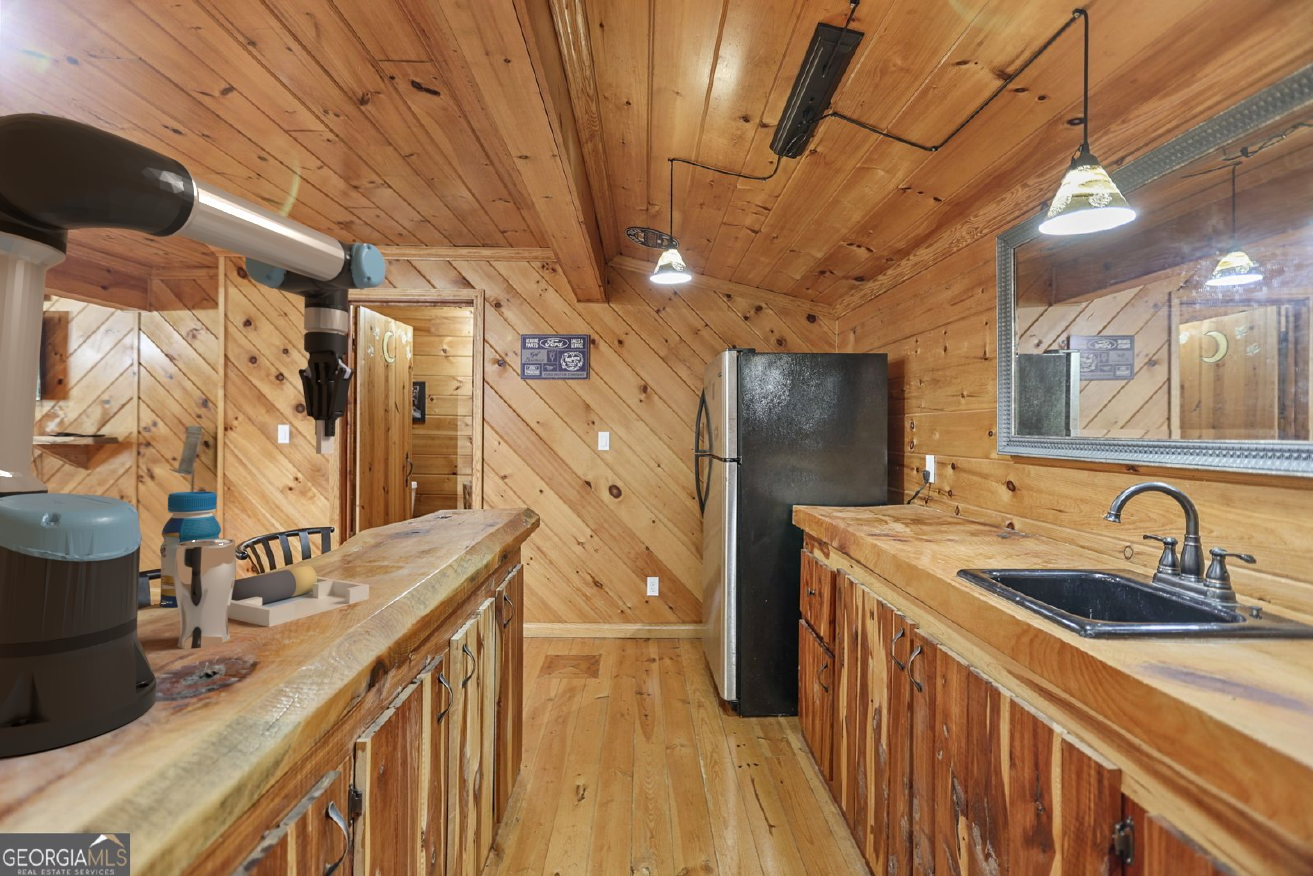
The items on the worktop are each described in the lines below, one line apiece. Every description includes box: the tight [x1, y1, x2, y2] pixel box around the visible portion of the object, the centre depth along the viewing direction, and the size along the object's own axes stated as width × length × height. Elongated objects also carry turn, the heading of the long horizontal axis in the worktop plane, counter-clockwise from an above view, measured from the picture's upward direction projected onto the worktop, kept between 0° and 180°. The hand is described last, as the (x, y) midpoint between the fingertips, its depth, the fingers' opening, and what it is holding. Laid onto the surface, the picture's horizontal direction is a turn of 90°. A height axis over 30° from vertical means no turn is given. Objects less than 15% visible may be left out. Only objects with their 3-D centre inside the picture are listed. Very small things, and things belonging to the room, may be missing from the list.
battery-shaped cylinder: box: [231, 565, 318, 604], centre depth 102 cm, size 13×5×5 cm, turn 157°
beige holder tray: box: [228, 576, 370, 628], centre depth 101 cm, size 18×18×4 cm
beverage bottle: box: [159, 490, 222, 609], centre depth 102 cm, size 8×8×20 cm
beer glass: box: [174, 538, 237, 650], centre depth 82 cm, size 7×7×15 cm
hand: (324, 453), depth 114 cm, fingers closed
